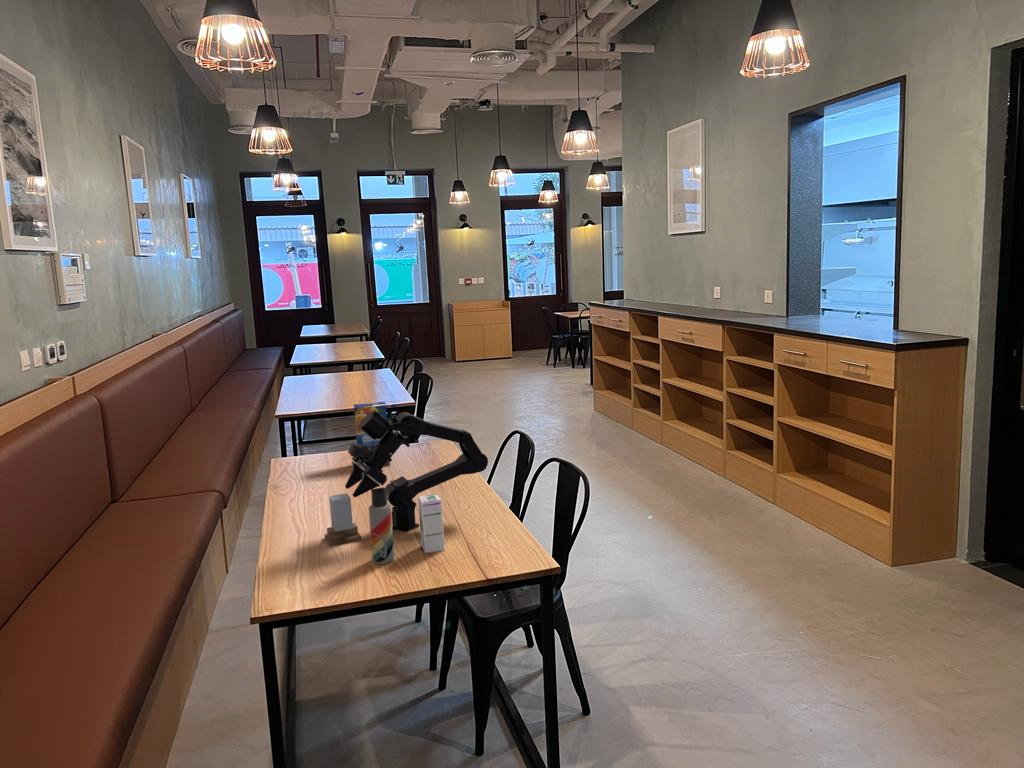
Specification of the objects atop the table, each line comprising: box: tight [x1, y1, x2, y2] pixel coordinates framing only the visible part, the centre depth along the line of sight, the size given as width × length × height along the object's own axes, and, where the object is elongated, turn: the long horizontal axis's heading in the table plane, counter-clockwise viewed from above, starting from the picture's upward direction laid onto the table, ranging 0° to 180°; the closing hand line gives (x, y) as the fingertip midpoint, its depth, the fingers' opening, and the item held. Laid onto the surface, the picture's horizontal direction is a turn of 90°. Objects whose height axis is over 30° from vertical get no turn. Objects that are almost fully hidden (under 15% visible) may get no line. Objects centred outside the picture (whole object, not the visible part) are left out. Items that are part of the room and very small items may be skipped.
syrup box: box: [417, 494, 446, 554], centre depth 204 cm, size 6×6×14 cm
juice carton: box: [353, 401, 391, 466], centre depth 290 cm, size 12×8×24 cm, turn 104°
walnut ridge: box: [323, 522, 362, 547], centre depth 214 cm, size 9×7×4 cm
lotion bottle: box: [368, 487, 395, 565], centre depth 196 cm, size 6×6×20 cm
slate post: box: [328, 492, 354, 532], centre depth 213 cm, size 5×5×9 cm
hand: (349, 492), depth 213 cm, fingers open, 9 cm apart
